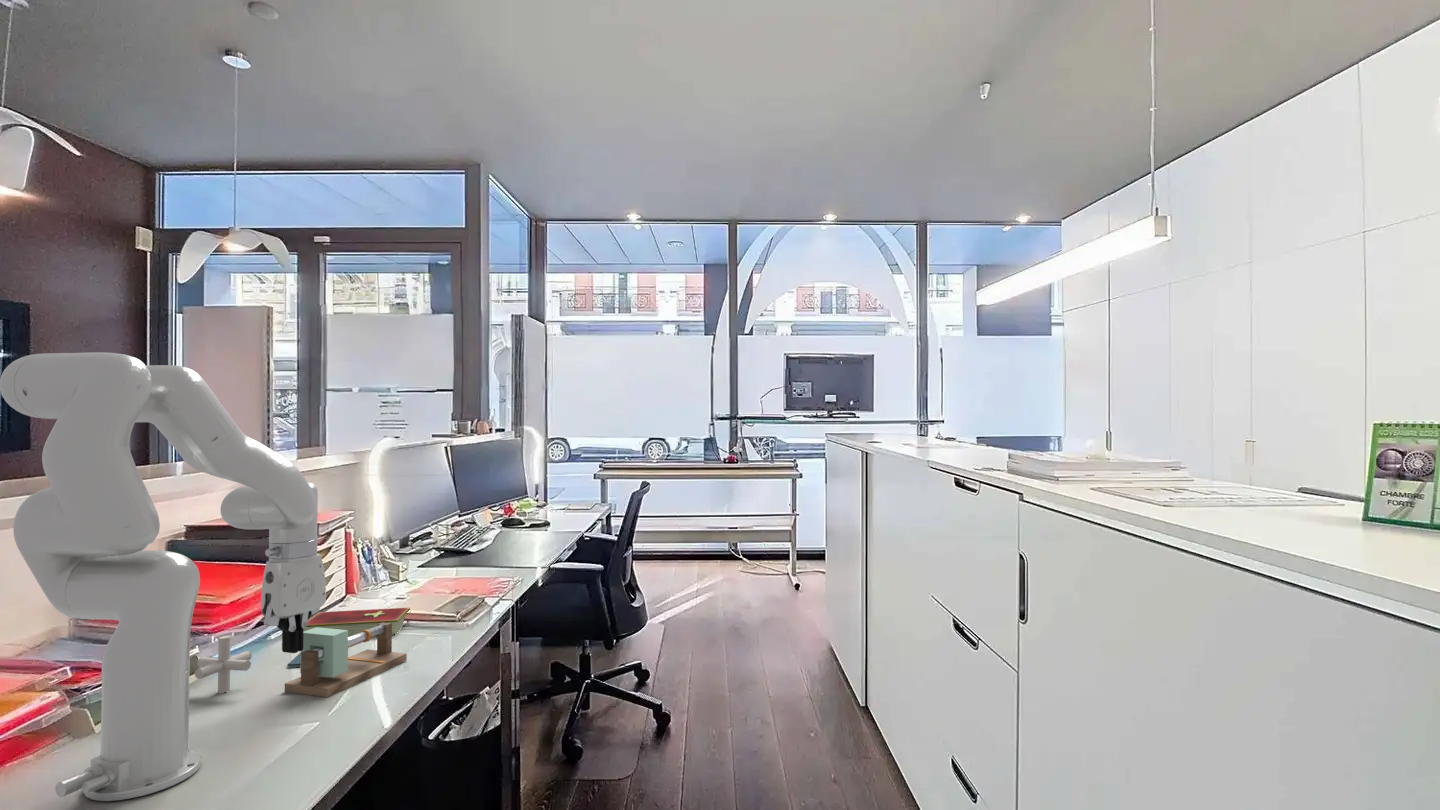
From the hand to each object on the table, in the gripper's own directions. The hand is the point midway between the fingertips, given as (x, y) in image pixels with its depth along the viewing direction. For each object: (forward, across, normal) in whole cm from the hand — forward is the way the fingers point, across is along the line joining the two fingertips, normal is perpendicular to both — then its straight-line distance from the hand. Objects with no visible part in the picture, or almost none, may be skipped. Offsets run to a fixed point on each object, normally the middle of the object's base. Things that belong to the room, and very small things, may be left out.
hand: (292, 651), depth 125 cm
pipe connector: (+8, -2, +14) cm, 17 cm away
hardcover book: (+9, +36, +20) cm, 42 cm away
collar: (+6, +6, -2) cm, 8 cm away
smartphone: (+9, +20, +14) cm, 26 cm away
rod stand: (+8, +12, -2) cm, 14 cm away
